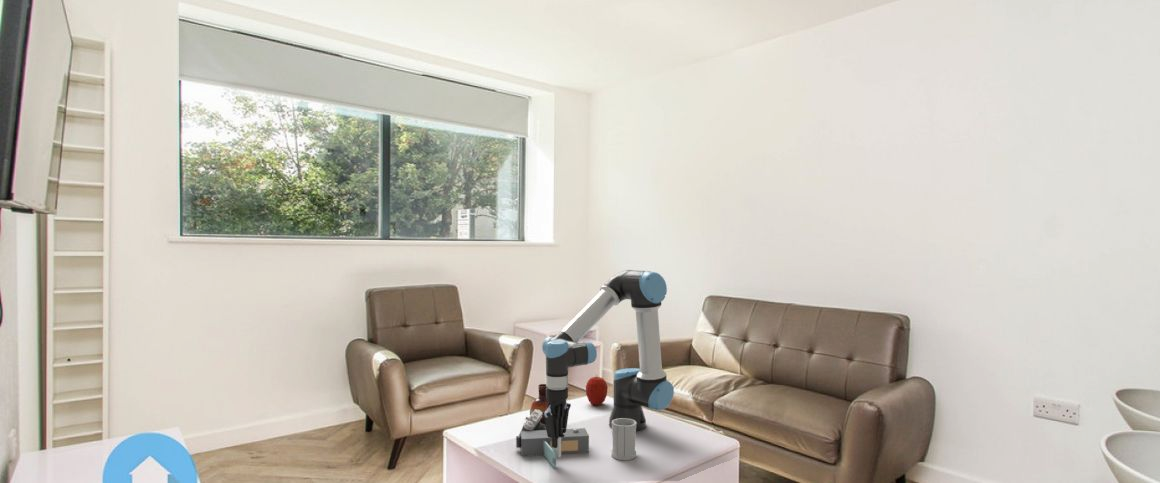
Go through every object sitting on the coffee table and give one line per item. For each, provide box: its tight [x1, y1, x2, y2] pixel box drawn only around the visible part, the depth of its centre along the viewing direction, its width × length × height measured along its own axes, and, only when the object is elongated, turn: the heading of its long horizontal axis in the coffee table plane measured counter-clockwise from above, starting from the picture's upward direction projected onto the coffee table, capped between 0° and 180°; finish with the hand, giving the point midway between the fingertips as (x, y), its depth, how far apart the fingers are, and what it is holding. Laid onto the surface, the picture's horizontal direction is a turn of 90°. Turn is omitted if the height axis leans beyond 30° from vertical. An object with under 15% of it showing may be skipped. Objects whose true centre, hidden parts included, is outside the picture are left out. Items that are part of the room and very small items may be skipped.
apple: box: [585, 374, 609, 407], centre depth 257 cm, size 10×10×14 cm
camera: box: [518, 409, 546, 436], centre depth 212 cm, size 9×16×10 cm, turn 169°
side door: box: [542, 441, 557, 469], centre depth 190 cm, size 13×1×5 cm, turn 21°
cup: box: [610, 418, 637, 461], centre depth 197 cm, size 10×9×12 cm
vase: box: [529, 383, 548, 426], centre depth 231 cm, size 11×11×15 cm
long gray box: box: [515, 427, 590, 457], centre depth 201 cm, size 26×8×7 cm, turn 100°
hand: (556, 456), depth 188 cm, fingers closed
